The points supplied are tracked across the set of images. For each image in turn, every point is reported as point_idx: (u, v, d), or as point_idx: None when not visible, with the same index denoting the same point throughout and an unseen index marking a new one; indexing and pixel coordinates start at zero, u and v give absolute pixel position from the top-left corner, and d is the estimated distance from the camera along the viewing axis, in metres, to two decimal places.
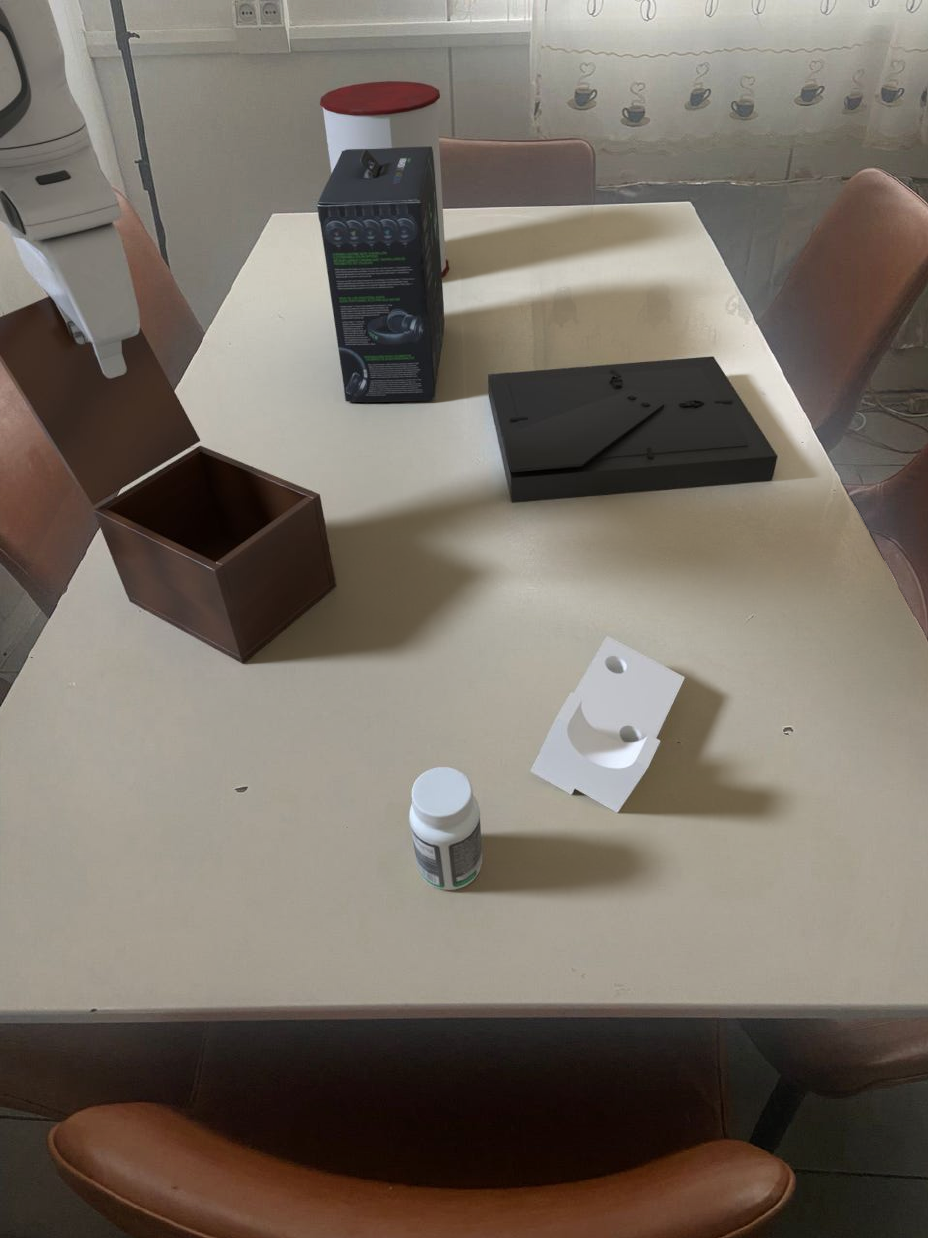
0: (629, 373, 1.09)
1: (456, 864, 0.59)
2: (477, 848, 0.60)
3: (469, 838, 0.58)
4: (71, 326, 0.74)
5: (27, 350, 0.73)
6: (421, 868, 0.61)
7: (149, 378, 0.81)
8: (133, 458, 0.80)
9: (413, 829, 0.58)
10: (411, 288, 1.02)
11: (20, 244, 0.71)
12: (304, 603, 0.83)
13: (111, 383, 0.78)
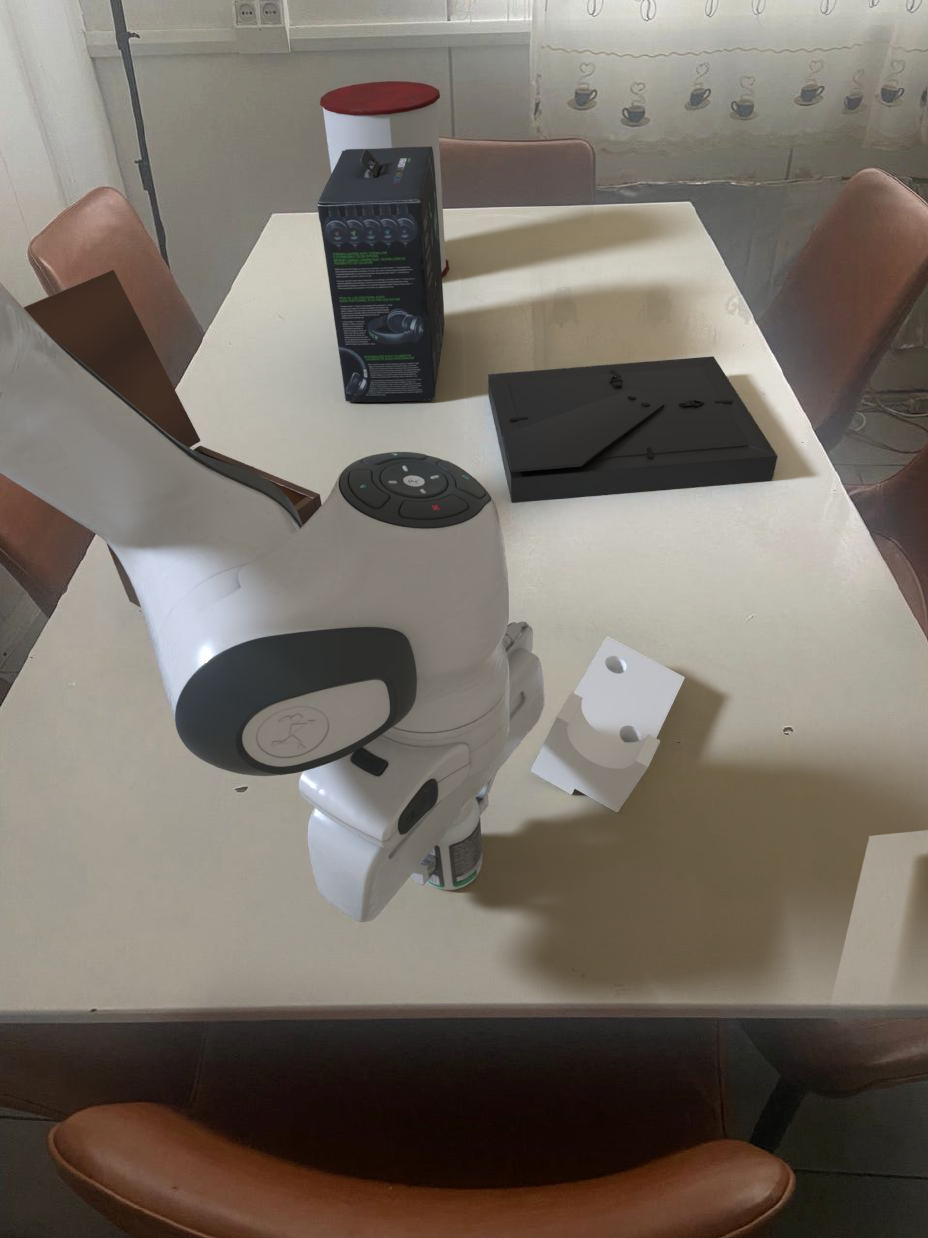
0: (629, 373, 1.09)
1: (456, 864, 0.59)
2: (477, 848, 0.60)
3: (469, 838, 0.58)
4: None
5: None
6: None
7: (150, 378, 0.81)
8: None
9: None
10: (412, 288, 1.02)
11: None
12: None
13: (113, 383, 0.78)
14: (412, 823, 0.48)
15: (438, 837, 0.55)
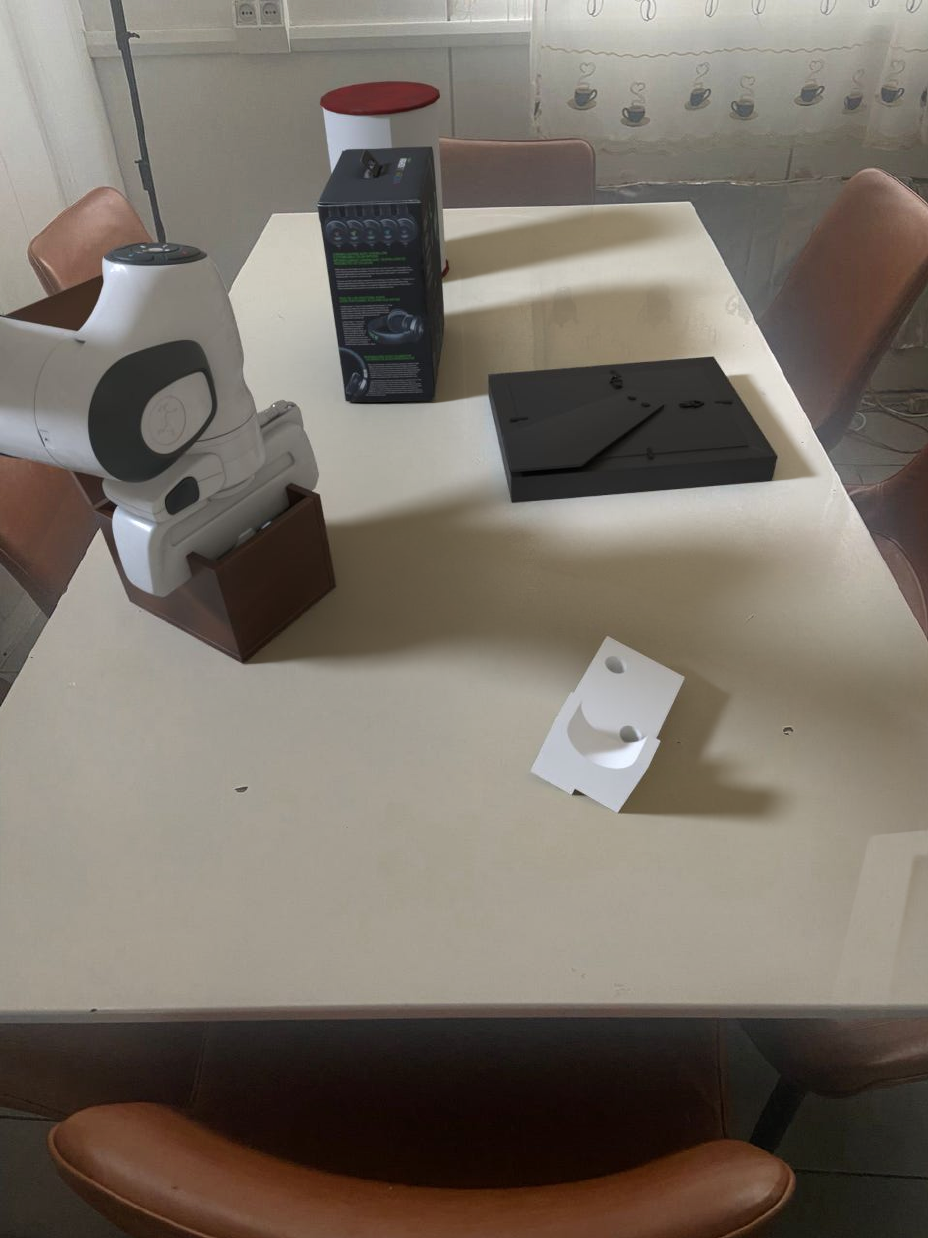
0: (629, 373, 1.09)
1: None
2: None
3: None
4: None
5: None
6: None
7: None
8: None
9: None
10: (412, 289, 1.02)
11: None
12: (304, 603, 0.83)
13: None
14: (178, 508, 0.69)
15: (220, 548, 0.76)
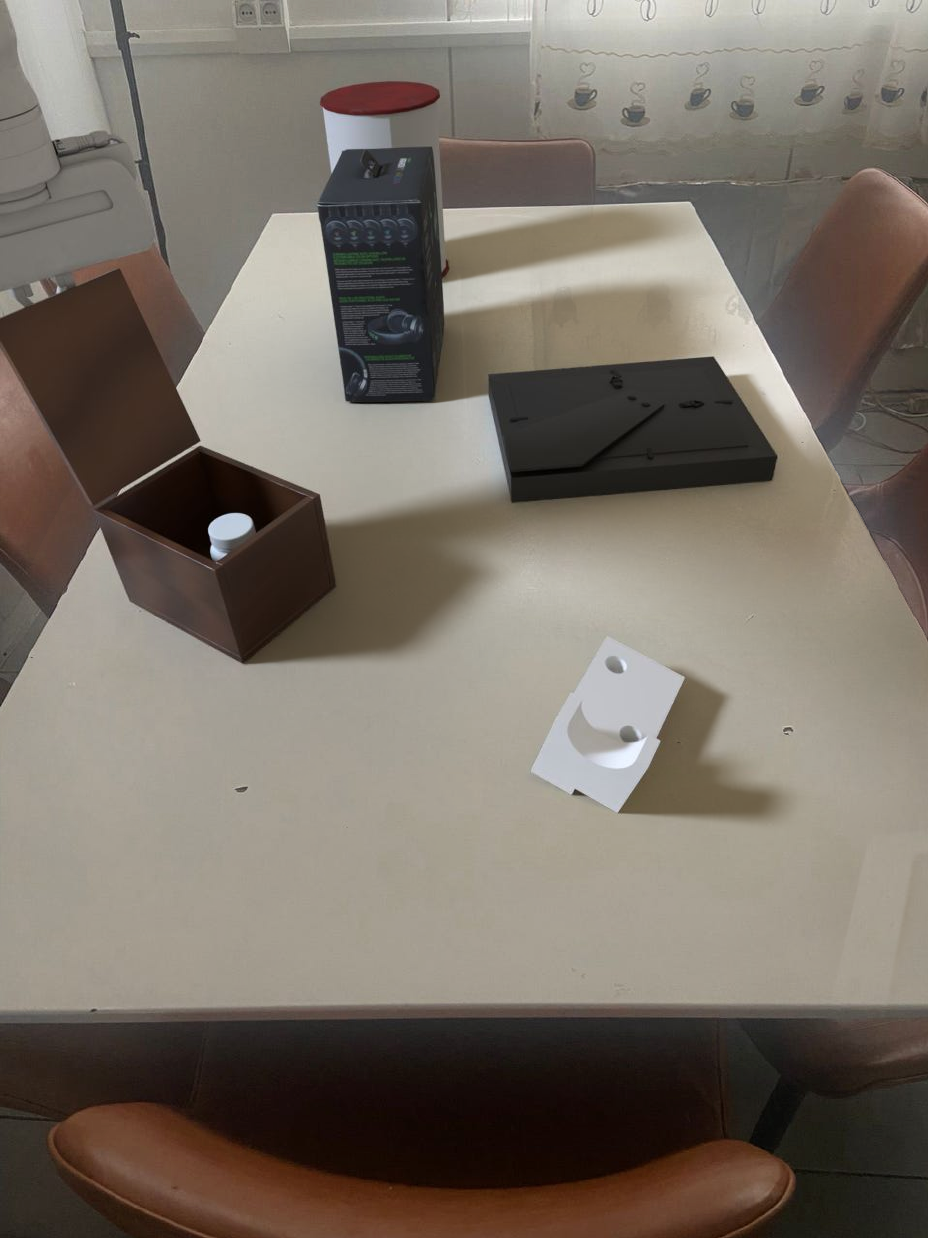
0: (629, 373, 1.09)
1: None
2: None
3: None
4: None
5: (35, 349, 0.72)
6: None
7: (153, 378, 0.81)
8: (134, 458, 0.80)
9: (211, 556, 0.79)
10: (412, 289, 1.02)
11: None
12: (304, 603, 0.83)
13: (116, 383, 0.78)
14: None
15: (3, 278, 0.70)
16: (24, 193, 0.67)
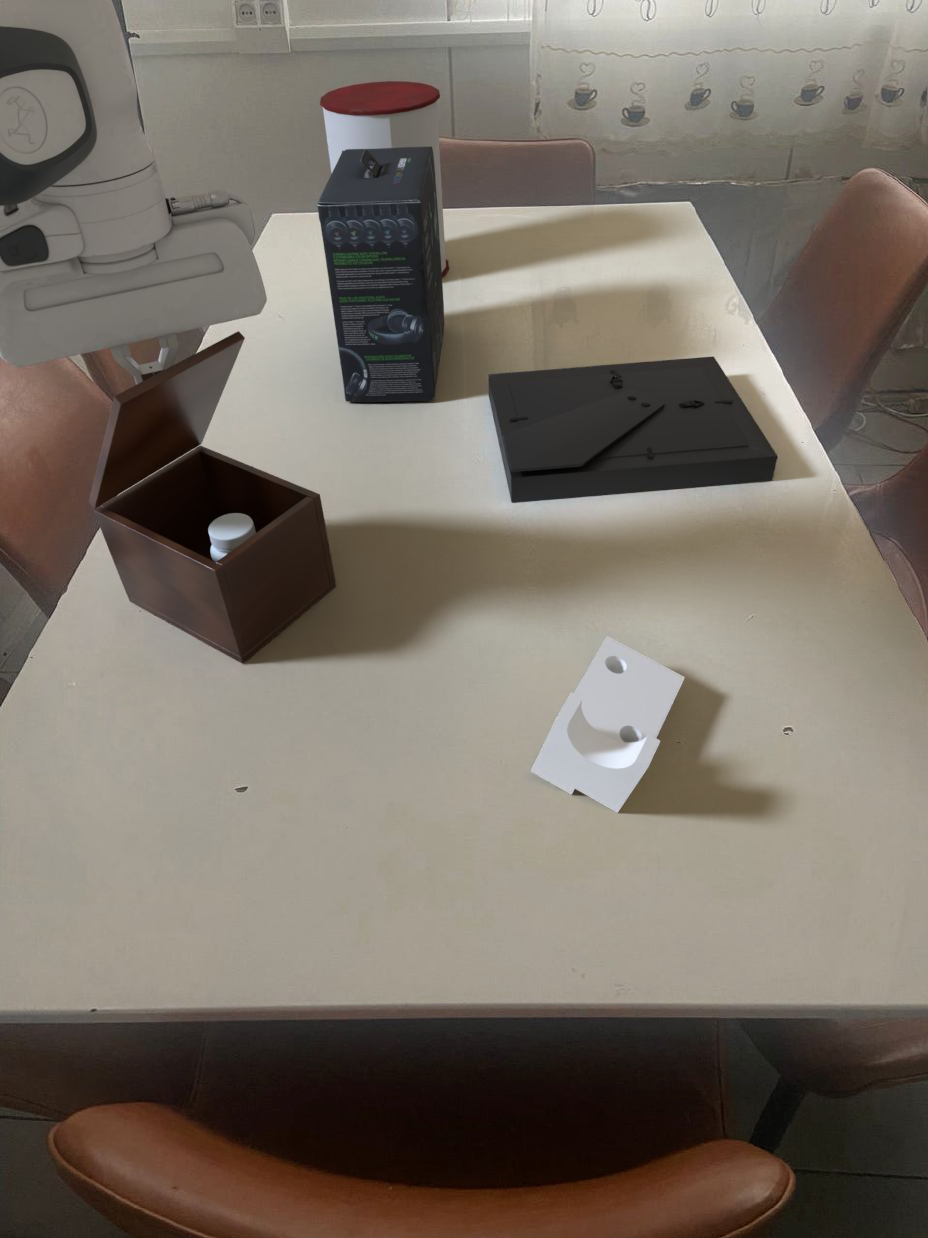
0: (629, 373, 1.09)
1: None
2: None
3: None
4: (149, 364, 0.72)
5: (138, 414, 0.69)
6: None
7: (204, 411, 0.79)
8: (147, 469, 0.80)
9: (211, 556, 0.79)
10: (412, 289, 1.02)
11: None
12: (304, 603, 0.83)
13: (176, 421, 0.76)
14: (17, 259, 0.60)
15: (101, 338, 0.67)
16: (128, 254, 0.63)
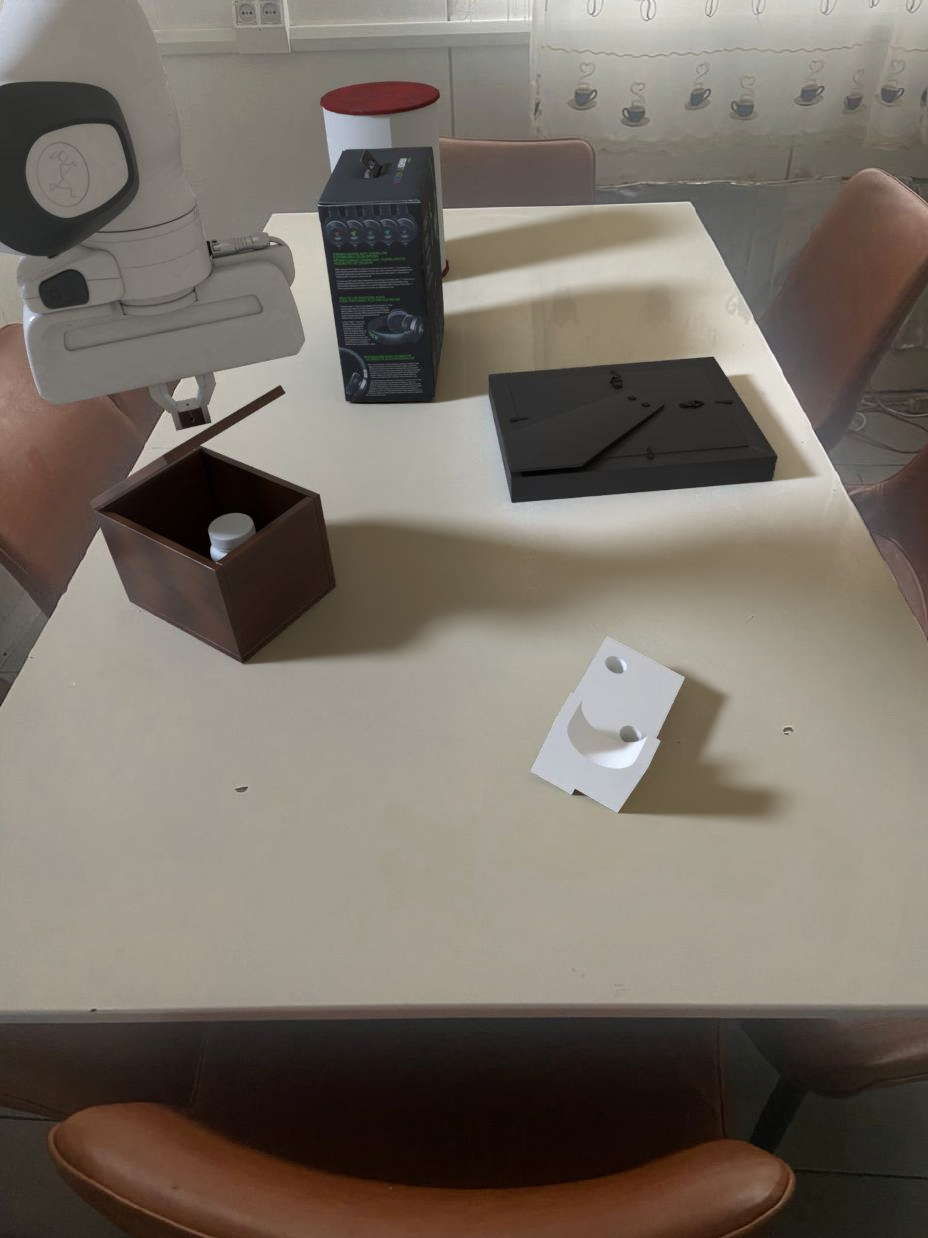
0: (629, 373, 1.09)
1: None
2: None
3: None
4: (186, 400, 0.72)
5: None
6: None
7: None
8: None
9: (211, 556, 0.79)
10: (412, 289, 1.02)
11: None
12: (304, 603, 0.83)
13: None
14: (58, 303, 0.60)
15: (139, 377, 0.67)
16: (167, 298, 0.63)
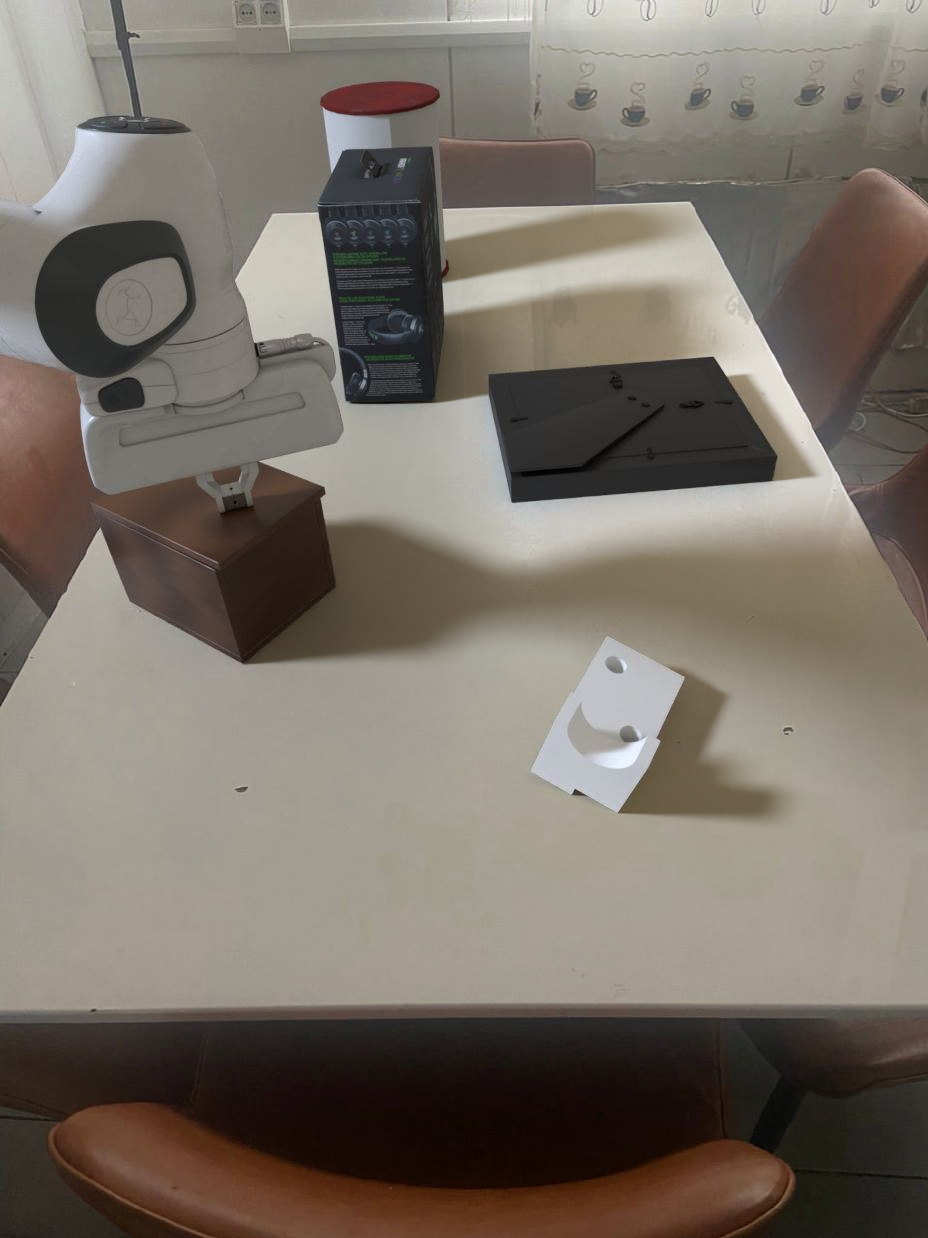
0: (629, 373, 1.09)
1: None
2: None
3: None
4: (230, 484, 0.76)
5: None
6: None
7: None
8: None
9: None
10: (412, 289, 1.02)
11: None
12: (304, 603, 0.83)
13: None
14: (115, 407, 0.64)
15: (187, 468, 0.70)
16: (217, 399, 0.66)
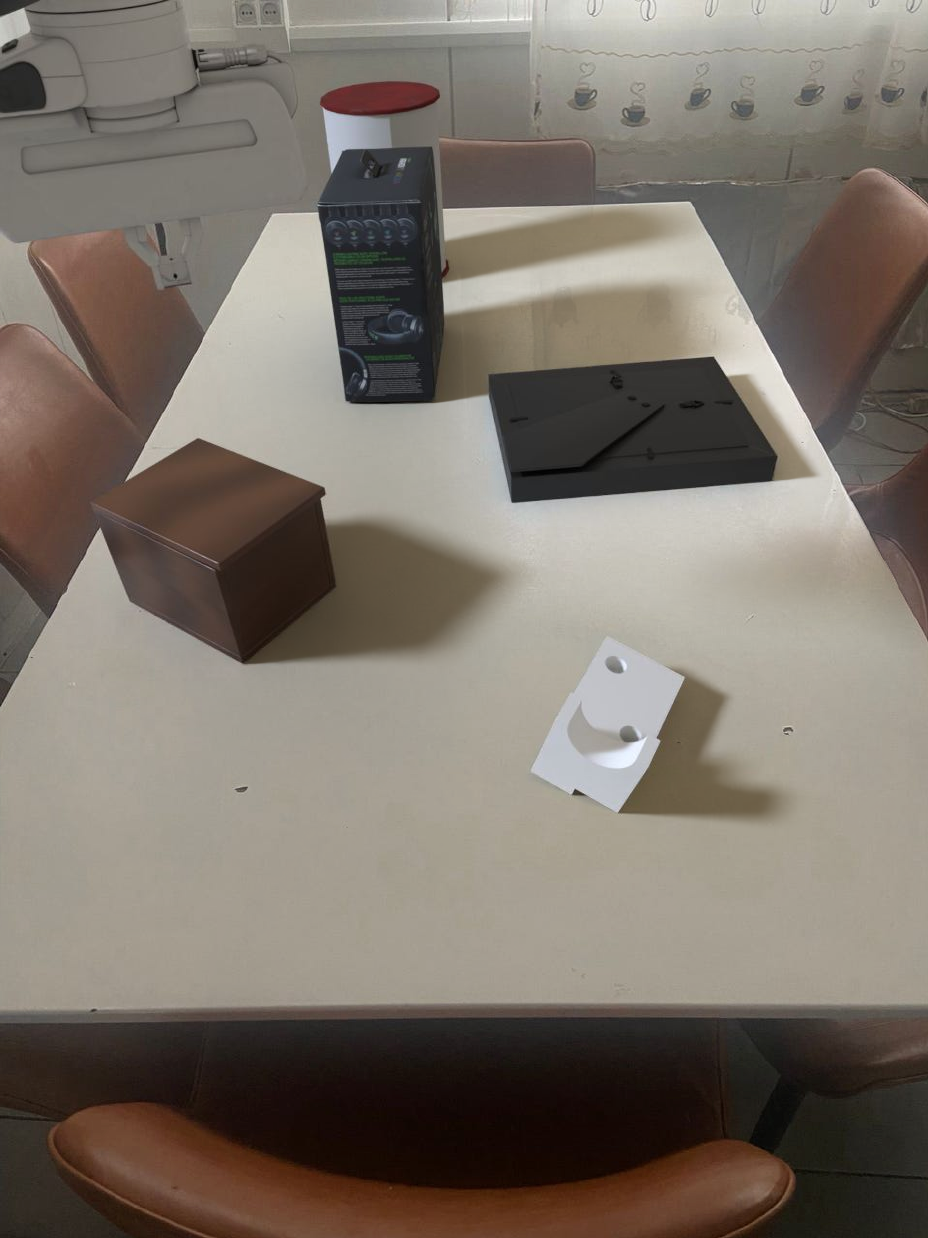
0: (629, 373, 1.09)
1: None
2: None
3: None
4: (171, 256, 0.63)
5: None
6: None
7: None
8: None
9: None
10: (412, 289, 1.02)
11: None
12: (304, 603, 0.83)
13: None
14: (9, 105, 0.51)
15: (111, 214, 0.57)
16: (140, 110, 0.53)
